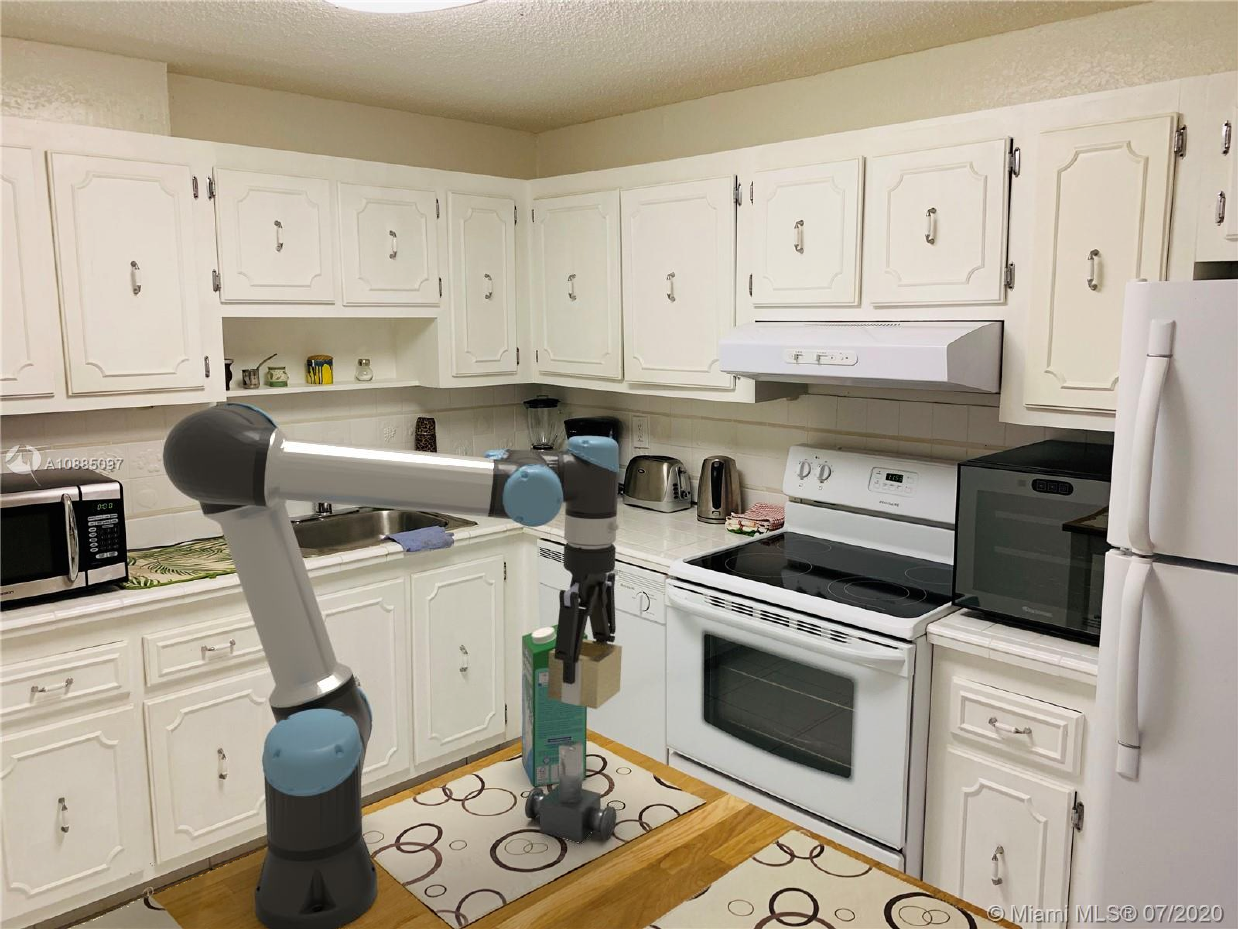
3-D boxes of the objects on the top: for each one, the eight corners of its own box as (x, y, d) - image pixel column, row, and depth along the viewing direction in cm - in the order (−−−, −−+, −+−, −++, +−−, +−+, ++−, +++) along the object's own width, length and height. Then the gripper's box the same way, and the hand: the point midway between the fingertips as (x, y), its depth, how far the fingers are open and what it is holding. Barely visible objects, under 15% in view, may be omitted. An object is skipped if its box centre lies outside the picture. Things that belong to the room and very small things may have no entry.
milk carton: (521, 762, 158) (521, 622, 154) (572, 756, 161) (573, 618, 157) (532, 787, 149) (533, 639, 146) (586, 780, 152) (587, 634, 149)
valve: (522, 827, 137) (522, 745, 135) (542, 809, 143) (543, 729, 141) (599, 849, 132) (601, 763, 130) (618, 829, 137) (619, 747, 135)
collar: (547, 698, 134) (549, 652, 133) (572, 680, 142) (574, 637, 141) (596, 709, 131) (598, 662, 130) (619, 690, 138) (621, 646, 137)
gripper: (580, 561, 122) (574, 723, 125) (642, 533, 141) (635, 675, 144) (531, 553, 125) (526, 712, 128) (598, 527, 144) (593, 666, 147)
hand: (584, 692), depth 136 cm, fingers closed on collar, 8 cm apart
